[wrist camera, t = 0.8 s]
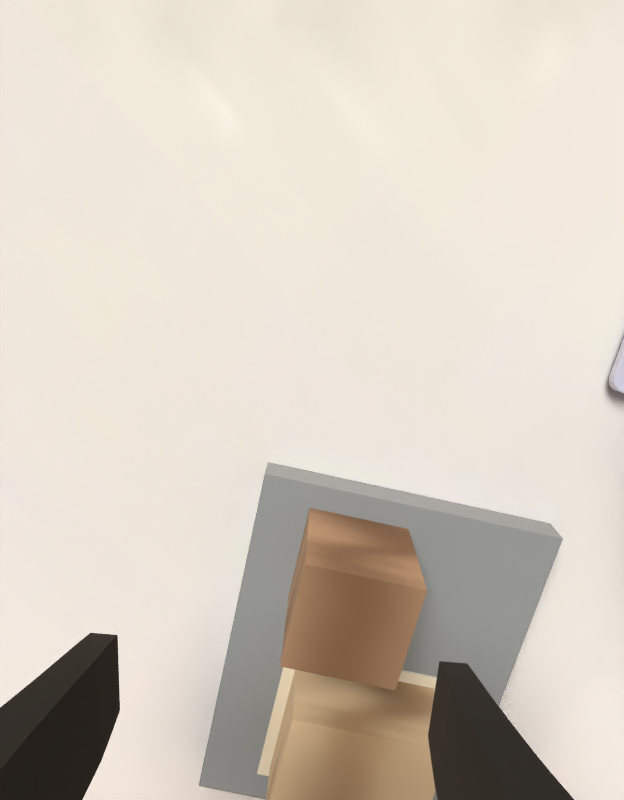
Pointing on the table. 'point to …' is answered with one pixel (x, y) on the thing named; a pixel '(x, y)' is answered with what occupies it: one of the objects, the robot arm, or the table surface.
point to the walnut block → (353, 600)
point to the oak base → (352, 742)
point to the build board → (437, 623)
